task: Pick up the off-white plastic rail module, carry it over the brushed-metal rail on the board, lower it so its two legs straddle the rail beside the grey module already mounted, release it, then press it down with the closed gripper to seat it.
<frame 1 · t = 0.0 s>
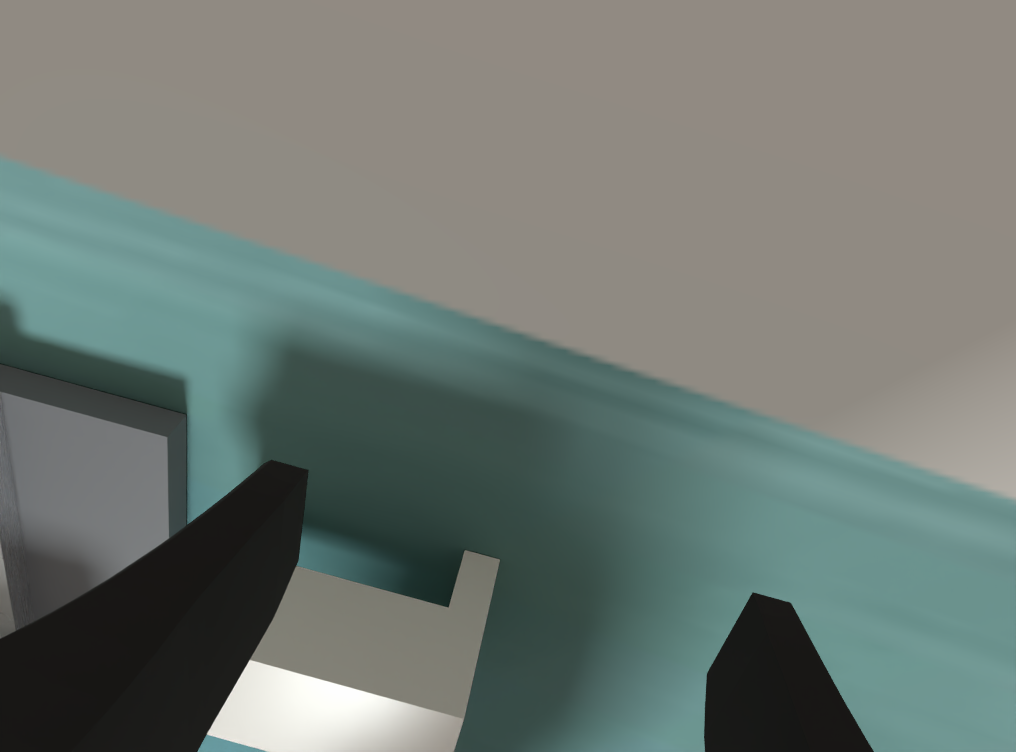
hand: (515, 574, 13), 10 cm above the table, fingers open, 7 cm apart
module: (369, 567, 28), on the table
rail board: (17, 549, 30), on the table
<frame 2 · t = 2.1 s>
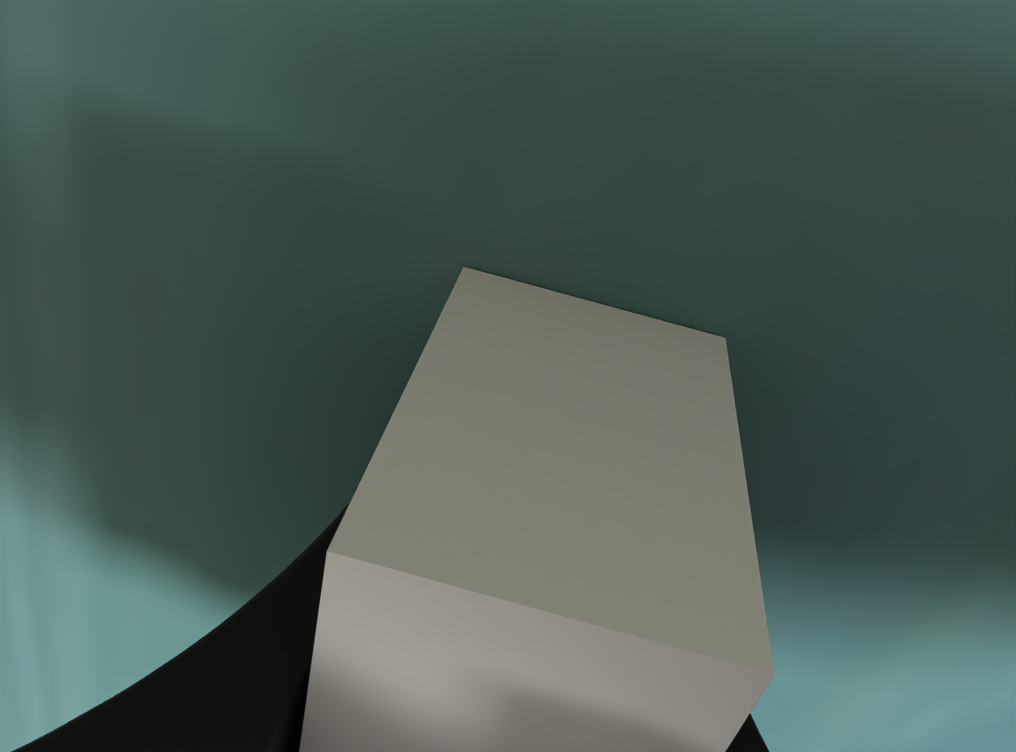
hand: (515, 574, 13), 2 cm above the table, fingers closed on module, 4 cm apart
module: (528, 508, 14), on the table, touching gripper
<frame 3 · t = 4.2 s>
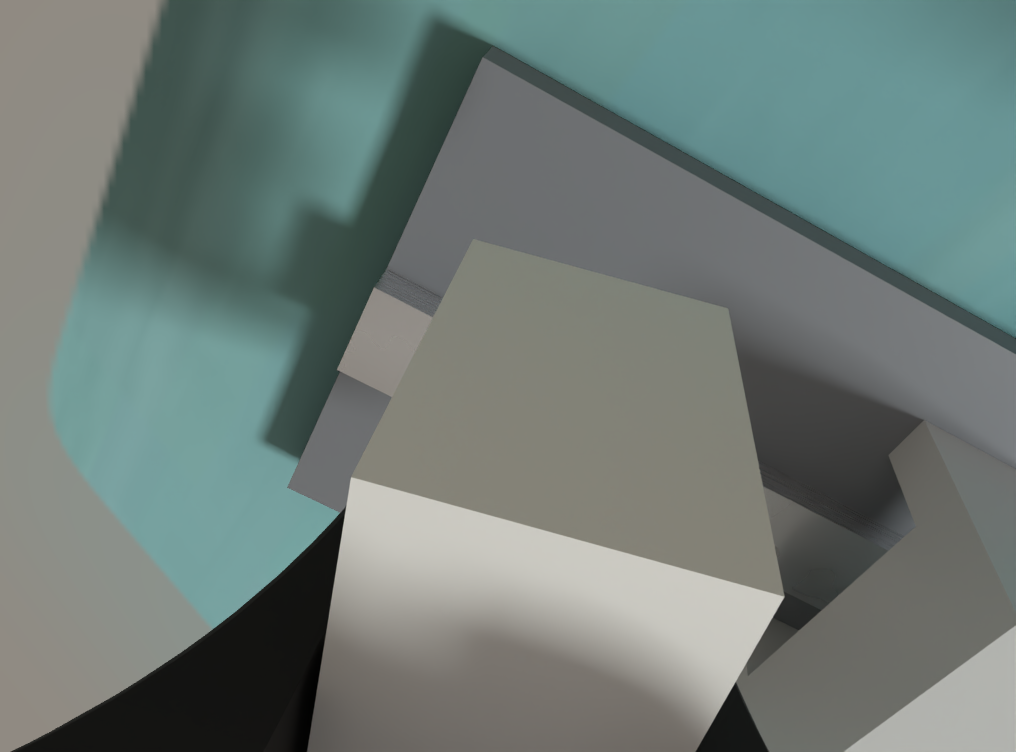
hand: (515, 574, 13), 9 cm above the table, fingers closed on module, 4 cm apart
module: (534, 483, 15), point 7 cm above the table, touching gripper
rail board: (673, 437, 22), on the table
when the fingers open (3 cm above the table, at t = 6.5 s): module stays where it is, resting on rail board.
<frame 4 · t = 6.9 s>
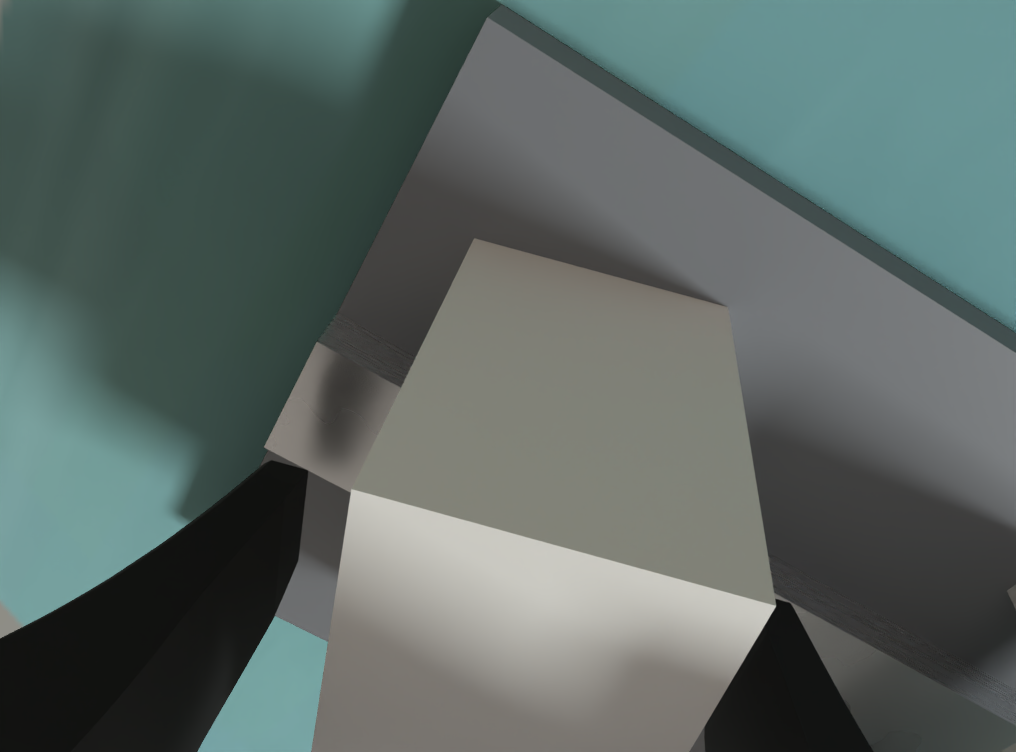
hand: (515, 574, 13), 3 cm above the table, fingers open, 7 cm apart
module: (536, 477, 15), point 1 cm above the table, touching rail board
rail board: (711, 541, 16), on the table
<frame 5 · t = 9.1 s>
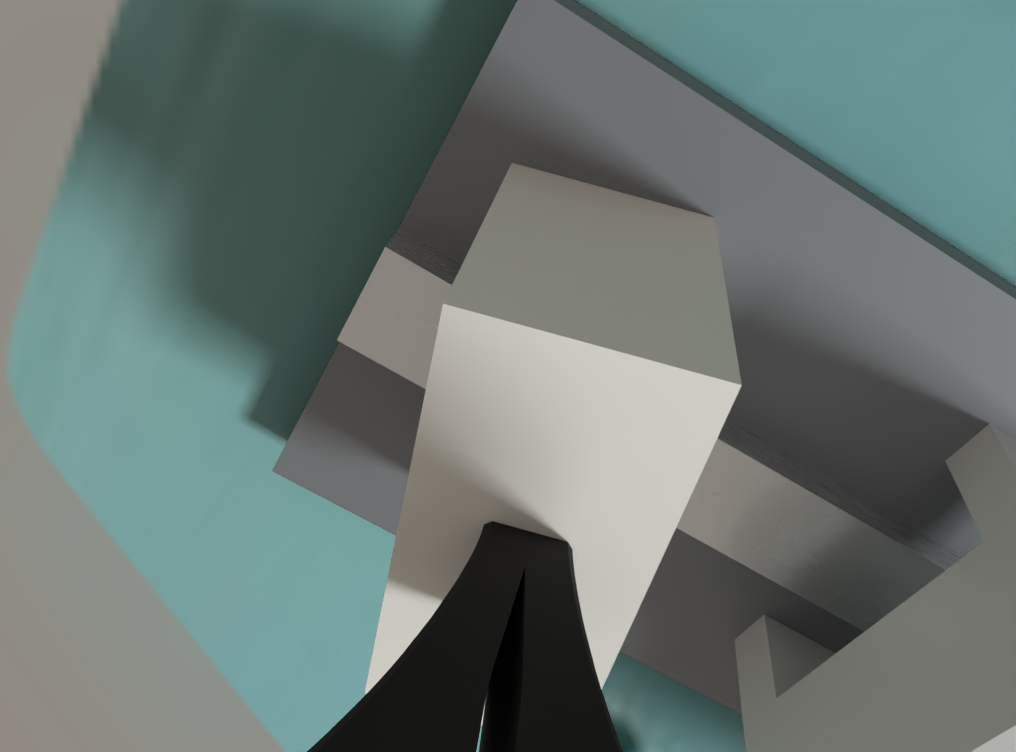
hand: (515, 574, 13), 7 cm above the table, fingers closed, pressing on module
module: (558, 369, 18), point 1 cm above the table, touching gripper, rail board
rail board: (703, 432, 20), on the table
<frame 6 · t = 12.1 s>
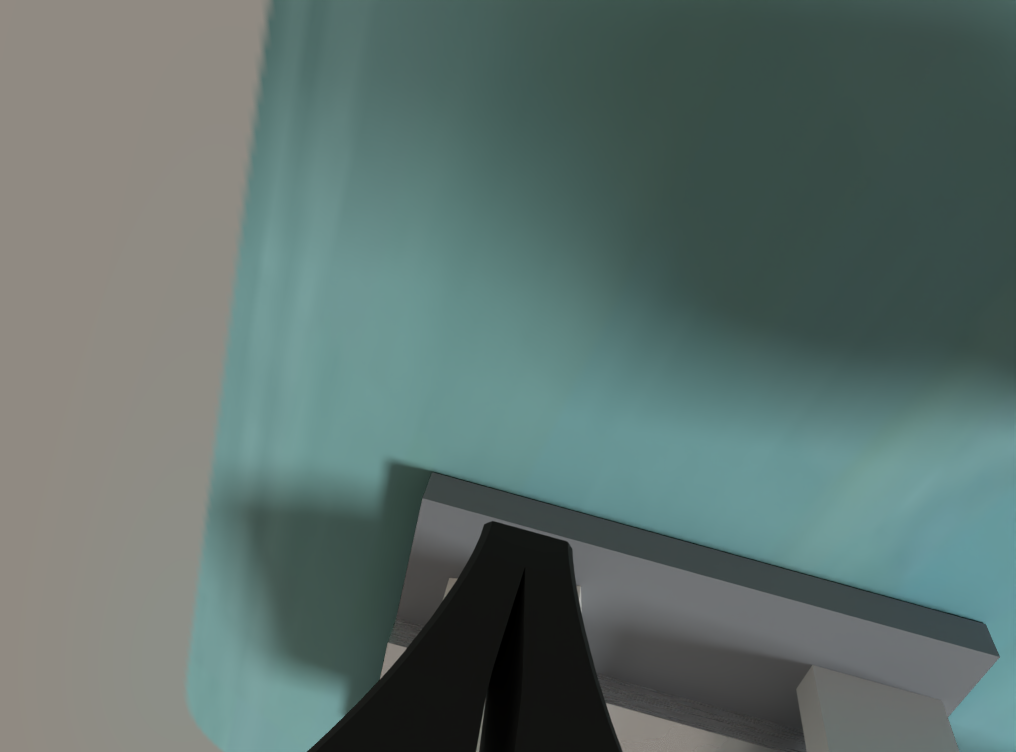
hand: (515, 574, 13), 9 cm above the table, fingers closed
rail board: (641, 681, 28), on the table
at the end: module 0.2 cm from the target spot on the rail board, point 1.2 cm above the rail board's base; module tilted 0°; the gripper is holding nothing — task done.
